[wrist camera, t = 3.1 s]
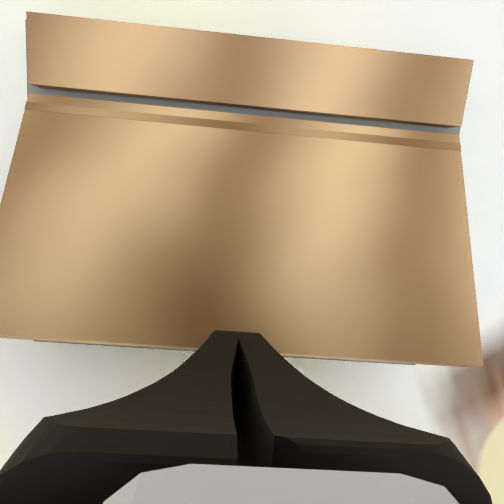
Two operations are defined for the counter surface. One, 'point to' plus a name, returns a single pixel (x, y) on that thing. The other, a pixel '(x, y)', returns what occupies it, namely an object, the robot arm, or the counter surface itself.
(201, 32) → the strip
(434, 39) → the counter surface
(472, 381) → the counter surface
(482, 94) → the counter surface
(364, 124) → the underlay
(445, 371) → the counter surface
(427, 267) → the plank
